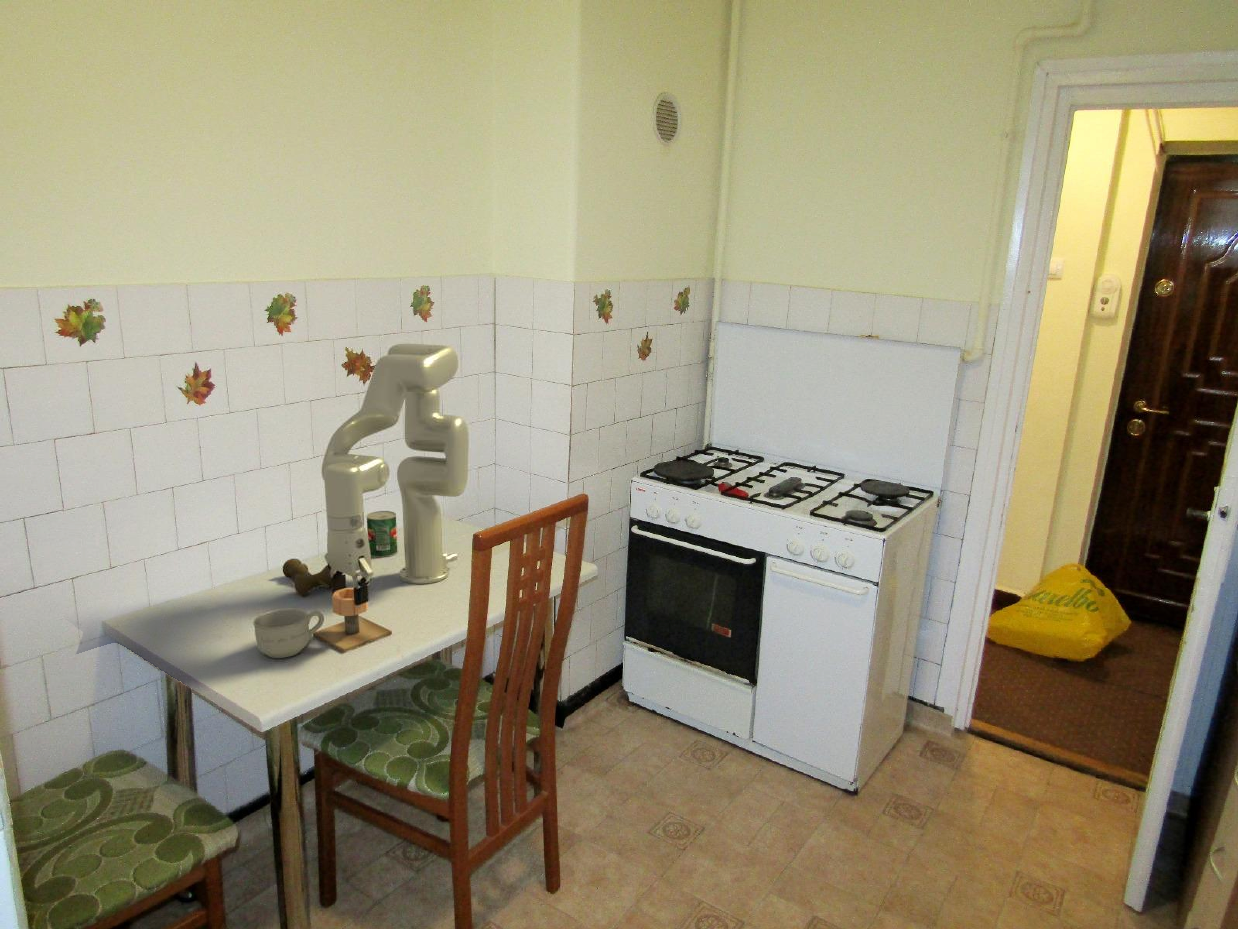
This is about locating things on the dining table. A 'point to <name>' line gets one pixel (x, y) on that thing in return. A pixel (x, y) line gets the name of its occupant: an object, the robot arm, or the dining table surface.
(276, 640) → the teacup
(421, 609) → the dining table surface
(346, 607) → the ring
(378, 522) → the canned tomato
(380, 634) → the post plate
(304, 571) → the kendama
